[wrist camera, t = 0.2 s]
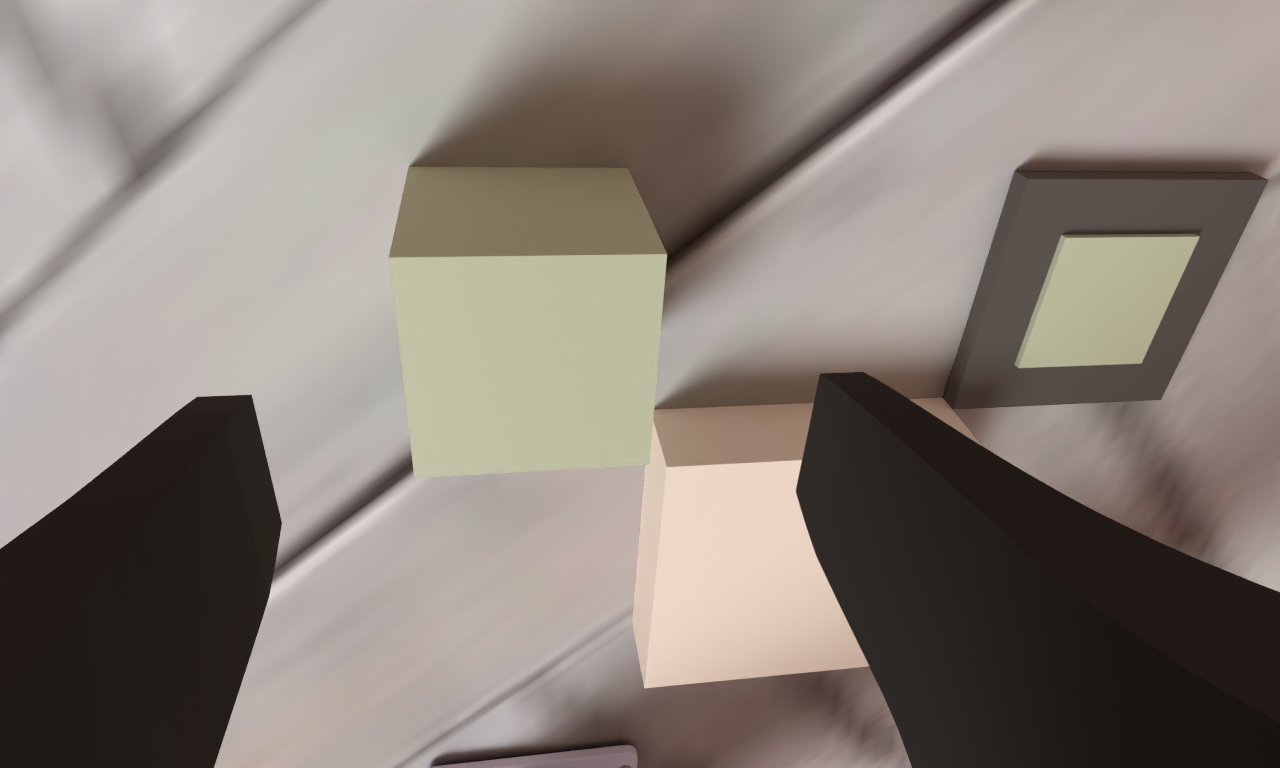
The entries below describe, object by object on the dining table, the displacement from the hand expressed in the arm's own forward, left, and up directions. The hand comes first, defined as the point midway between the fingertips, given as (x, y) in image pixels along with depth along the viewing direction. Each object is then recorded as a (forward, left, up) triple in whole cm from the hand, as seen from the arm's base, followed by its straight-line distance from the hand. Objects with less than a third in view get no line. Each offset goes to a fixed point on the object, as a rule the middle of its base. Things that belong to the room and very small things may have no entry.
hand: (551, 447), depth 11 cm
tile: (-3, -16, -10) cm, 19 cm away
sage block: (-2, 0, -10) cm, 11 cm away
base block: (-11, -8, -11) cm, 17 cm away
